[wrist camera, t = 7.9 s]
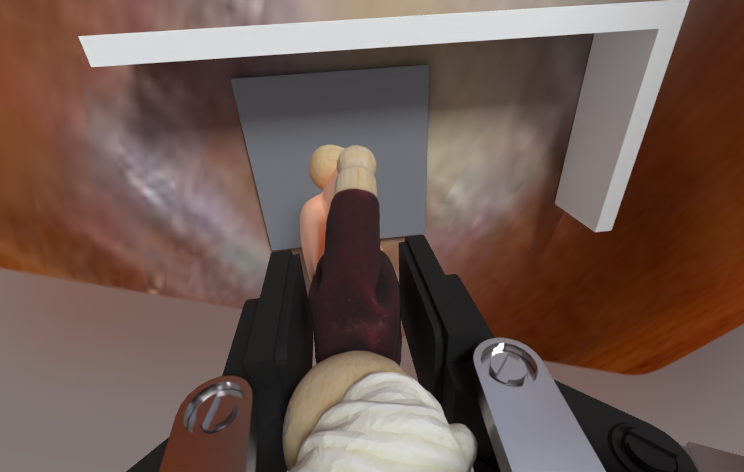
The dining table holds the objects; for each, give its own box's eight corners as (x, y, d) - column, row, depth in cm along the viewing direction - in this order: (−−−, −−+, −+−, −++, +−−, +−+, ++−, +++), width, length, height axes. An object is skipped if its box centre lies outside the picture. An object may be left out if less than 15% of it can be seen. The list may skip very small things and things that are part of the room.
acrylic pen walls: (618, 7, 18) (690, -2, 14) (568, 202, 23) (611, 230, 20) (132, 37, 16) (78, 36, 12) (204, 240, 21) (181, 279, 18)
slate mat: (427, 64, 18) (429, 64, 17) (423, 230, 23) (425, 233, 22) (232, 78, 17) (230, 79, 17) (272, 247, 22) (272, 250, 22)
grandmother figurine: (273, 131, 13) (-23, 490, 2) (367, 108, 13) (534, 361, 2) (326, 284, 17) (312, 711, 6) (400, 266, 17) (526, 662, 6)
